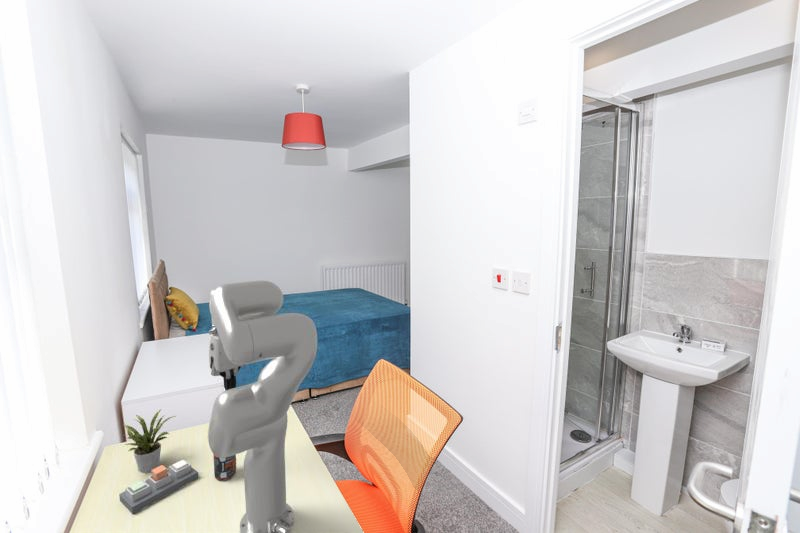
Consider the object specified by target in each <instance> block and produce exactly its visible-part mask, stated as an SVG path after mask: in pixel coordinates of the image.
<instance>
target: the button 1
mask: <svg viewBox="0 0 800 533" xmlns="http://www.w3.org/2000/svg"><path fill="white" fill-rule="evenodd" d="M128 487H129V489H130V491H131V492H132V493H135V492H137V491H139V490H141V489H143V488H145V487H146V485H145V484H144V483H143V482H142V481H141V480H139V481H137V482H135V483H133V484H131V485H129V486H128Z"/></svg>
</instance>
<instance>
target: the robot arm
mask: <svg viewBox="0 0 800 533" xmlns="http://www.w3.org/2000/svg"><path fill="white" fill-rule="evenodd" d="M283 304H284V294H283V292H282V289H281V288H280V287H279V286H278V285H277V284H276V283H274V282H272V281H269V280H252V281H242V282H234V283H226V284H221V285H219V286H218V287H215V288H212V289H211V291H210V292H209V303H208V305H209V312H210V315H211V329H209V330H208V334H209V335H210V340H209V350H208V358H209V359H208V361H209V368H210V370H211V371H210V375H211V376H213V377H222V378H223V388H224V390H225V391H223V392H221V393H219V394H218V395H217V397H215V400H214V403H213V406H212V411H211V414H210V415H211V417H210V420H209V425H208V431H207V439H208V445H209V448H210V451H211V453H212V454H214V455H215V456H217V457H219V458H226V457H230V456H233V455H239V454H241V453H244V452H246V454H245V455H244V456H245V457H244V460H243V478H244V481H243V482H244V493H245V494H244V496H245V497H244V498H245V513H244V514H243V516H242V518H241V520H240V523H239V530H240V531H239V532H240V533H291V529H290V528H292V527H294V525H295V521H294V511H293V508H292V506H290V504H288V503H287V490H286V489H287V487H286V486H287V485H286V455H285V454H286V453H285V448H286V447H285V446H286V445H285V444H286V436H287V429H288V411H289V409H290V408H291V405H292V403H293V400H294V398H295V395H296V393H297V392H298V390H299V387H300V386H301V383H302V382H303V381H304V380H305V378H306V377H307V375H308V373H309V372H310V370H311V368H312V366H313V364H314V362H315V359H316V356H317V349H318V332H317V328H316V324H315V322H314V320H312V318H311V317H309V316H308V315H306V314H303V313H298V312H286V313H284V312H283V313H277V312H279V310H280V309H281V308H282V306H283ZM270 359H271V360H270ZM266 360H267V361H268V360H270V361H269V362H267V364H266V365H265V366H264V367H263V368H262V370H261V371H260V372H259V375H258V377H257V381H255V382H251V383H248V384H244V385H240V386H237V376H238V373H239V371H240V370H241V368H243V367H244V366H246V365H248V364H253V363H257V362H261V361H266Z"/></svg>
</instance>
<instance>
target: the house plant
mask: <svg viewBox="0 0 800 533" xmlns="http://www.w3.org/2000/svg"><path fill="white" fill-rule="evenodd" d="M161 411H162V409H159V410H158V411H156V412H155V414H154V416H153V417H152V419H151V422H150V427H149V429H148V427H147V423H146V421H145V419H144V418H142V417H141V416H140V415H138V414H136V415H135V416H136V417H137V419H134V418H133V420H135V421H136V422H137V423H139V424H140V425H141V428H142V431H143V434H141V433H140V432H138V430H137V429H135V428H134V427H132V426H130V425H127V424H122V426H124V427H125V429H126V431H127V438H126V440H127V439H128V440H129V439H131V440H132V441H134V442H130V443H128V442H127V443H125V444H124V445H127V446H128V445H129V446H134V447H131V448H129V450H128V452H130V451H131V452H132V451H133V456H134V458H135V462H136V465H137V468H138V471H139V473H141V474H146V473H151V470H153V469H155V468H157V467H159V466H160V460H161V451H162V450H161V449H162V443H161V442H159V441H163V440H164V439H168V437H167V436H165V435H169V436H170V433H169V432H168V431H163V432H161V433H160V434H158V435H157V433H158V432H159V431H160V430H161V429H162V427H163V426H164V424H165V423H166V422H168V420H170V419H172V418H175V417H176V415H173V416H169V417H167V418H165V416H166V415H162V416H161V417H160V418H159V419H157V418H158V416H159V413H160V412H161ZM163 418H165V420H163ZM162 420H163V421H162ZM161 421H162V422H161ZM155 423H156V425H155ZM154 425H155V426H154ZM156 435H157V437H156ZM122 436H125V434H123V435H122Z"/></svg>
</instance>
